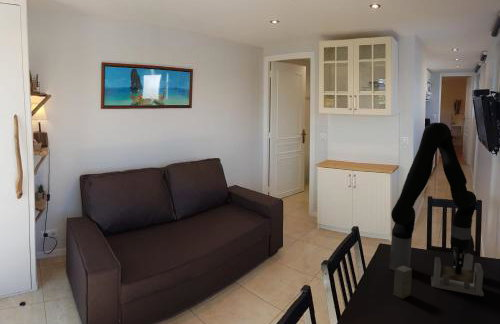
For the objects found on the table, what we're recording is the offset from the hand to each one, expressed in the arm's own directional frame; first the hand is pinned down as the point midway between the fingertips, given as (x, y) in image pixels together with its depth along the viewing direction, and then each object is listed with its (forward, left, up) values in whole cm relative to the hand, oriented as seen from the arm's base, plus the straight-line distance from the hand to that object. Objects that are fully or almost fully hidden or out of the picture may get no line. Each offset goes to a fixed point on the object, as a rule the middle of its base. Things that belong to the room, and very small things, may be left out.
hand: (457, 270), depth 160 cm
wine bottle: (+4, +16, -8) cm, 19 cm away
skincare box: (-22, -18, -8) cm, 29 cm away
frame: (0, 0, -8) cm, 8 cm away
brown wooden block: (0, 0, -4) cm, 4 cm away
